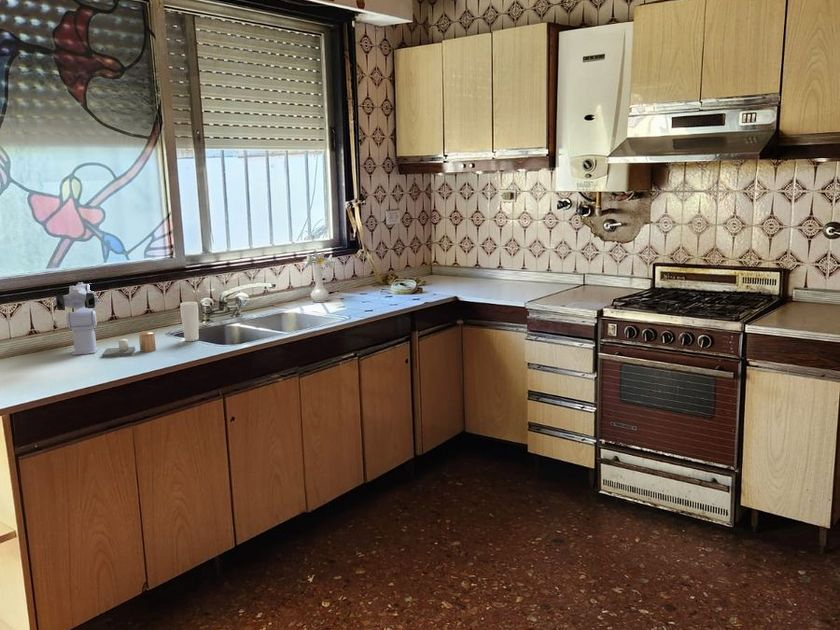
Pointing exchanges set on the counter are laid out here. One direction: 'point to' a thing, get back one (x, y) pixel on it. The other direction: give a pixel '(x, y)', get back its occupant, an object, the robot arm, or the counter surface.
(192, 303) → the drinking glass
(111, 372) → the counter surface
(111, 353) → the base
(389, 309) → the counter surface
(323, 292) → the flower vase
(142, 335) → the copper topped wooden cylinder
